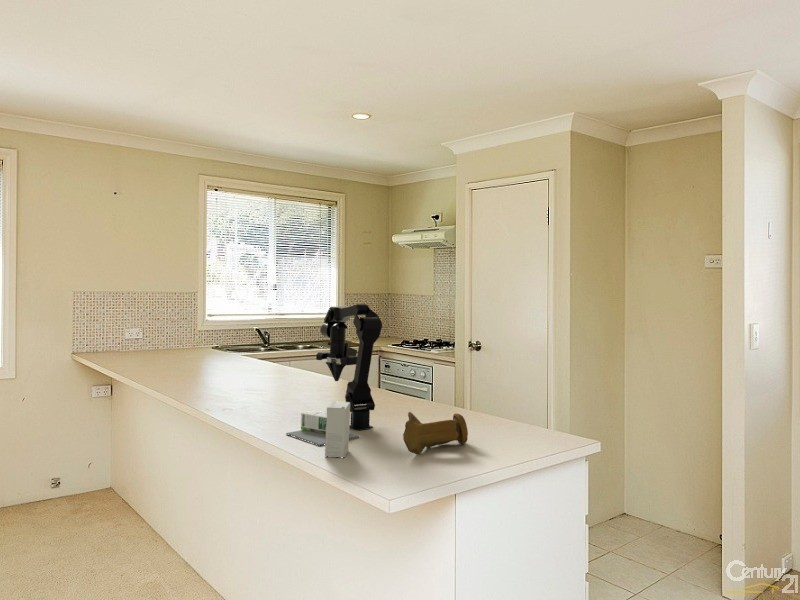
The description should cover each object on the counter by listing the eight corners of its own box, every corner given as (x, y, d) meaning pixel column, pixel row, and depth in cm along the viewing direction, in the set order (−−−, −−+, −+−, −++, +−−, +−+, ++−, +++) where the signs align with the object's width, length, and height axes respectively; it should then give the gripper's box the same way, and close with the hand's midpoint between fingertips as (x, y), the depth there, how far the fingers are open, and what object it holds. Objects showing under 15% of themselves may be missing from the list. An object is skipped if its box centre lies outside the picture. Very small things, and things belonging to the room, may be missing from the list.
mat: (359, 437, 191) (359, 435, 191) (319, 446, 180) (319, 444, 180) (325, 427, 204) (325, 425, 204) (286, 434, 193) (286, 433, 193)
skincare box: (329, 449, 177) (330, 400, 176) (349, 450, 176) (350, 401, 176) (324, 458, 168) (325, 406, 168) (345, 458, 168) (346, 407, 168)
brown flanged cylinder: (389, 417, 189) (454, 405, 194) (397, 458, 186) (463, 444, 191) (398, 411, 172) (469, 398, 176) (407, 456, 169) (479, 441, 173)
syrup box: (300, 412, 198) (335, 418, 190) (311, 409, 203) (346, 415, 196) (300, 429, 198) (334, 436, 191) (311, 426, 203) (345, 432, 196)
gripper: (370, 341, 221) (369, 382, 221) (338, 336, 234) (337, 375, 234) (347, 342, 213) (346, 385, 213) (315, 338, 226) (314, 378, 226)
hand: (336, 381), depth 222 cm, fingers closed
